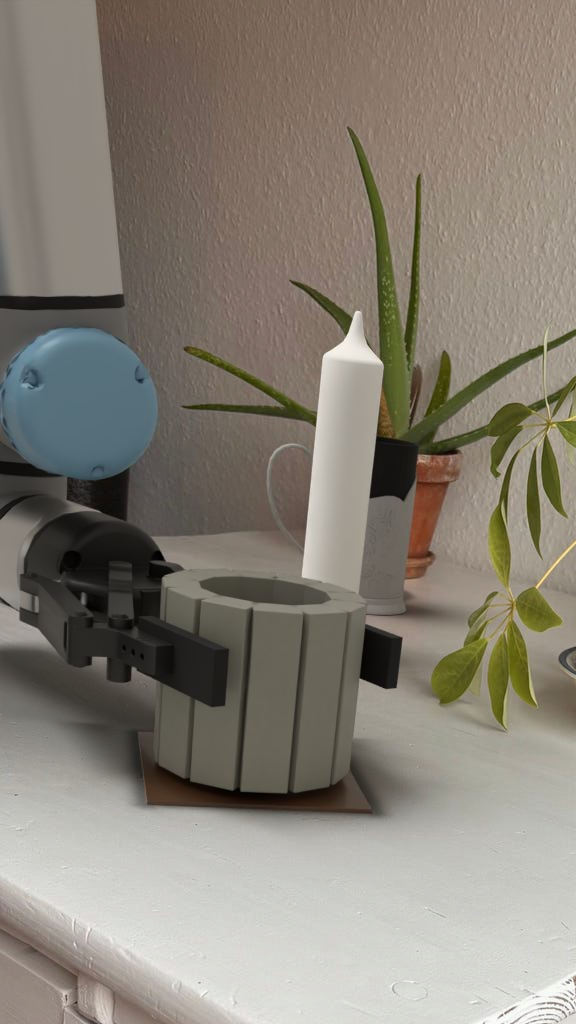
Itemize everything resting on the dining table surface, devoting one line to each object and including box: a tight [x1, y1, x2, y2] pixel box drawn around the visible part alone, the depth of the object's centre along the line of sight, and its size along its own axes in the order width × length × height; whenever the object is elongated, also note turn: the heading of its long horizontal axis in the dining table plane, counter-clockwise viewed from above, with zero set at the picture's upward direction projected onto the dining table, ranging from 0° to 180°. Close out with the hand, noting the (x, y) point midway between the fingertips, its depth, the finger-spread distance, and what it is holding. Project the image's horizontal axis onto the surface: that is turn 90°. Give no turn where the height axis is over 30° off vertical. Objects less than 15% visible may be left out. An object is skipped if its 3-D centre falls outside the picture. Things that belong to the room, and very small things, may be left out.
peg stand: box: [137, 730, 373, 814], centre depth 67 cm, size 11×11×7 cm
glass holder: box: [266, 435, 420, 616], centre depth 117 cm, size 9×14×15 cm, turn 113°
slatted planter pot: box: [153, 568, 368, 793], centre depth 66 cm, size 10×10×9 cm
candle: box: [301, 310, 385, 594], centre depth 98 cm, size 7×7×25 cm
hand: (312, 670), depth 63 cm, fingers closed on slatted planter pot, 10 cm apart
